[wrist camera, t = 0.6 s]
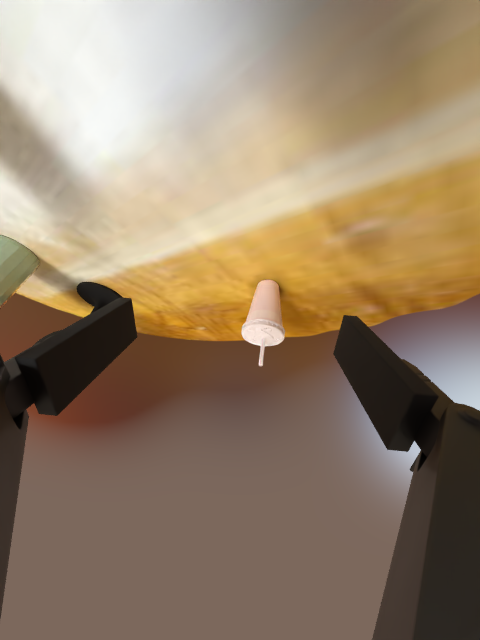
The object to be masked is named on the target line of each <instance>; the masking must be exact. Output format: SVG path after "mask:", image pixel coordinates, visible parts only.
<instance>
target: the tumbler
mask: <svg viewBox="0 0 480 640" xmlns="http://www.w3.org/2000/svg"><path fill="white" fill-rule="evenodd" d="M39 265H40V262H39V260H38V258H37V257H36V256H35V255H34V254H33V253H32V252H31V251H30V250H29V249H27V248H26V247H25V246H23V245H22V244H20V243H18V242H16V241H14V240H12V239H10V238H8V237H5V236H1V235H0V309H1V307H2V306H3V305H4V304H5V303H6V302H7V301H8V300H9V299H10V298H11V297H12V296H13V294H14V293H15V292H16V291H17V290H18V289H19V288H20V287H21V286H22V285H23V284H24V283H25V282H26V281H27V279H28V278H29V277H30V276H31V275H32V274H33V273H34V272H35V271H36V270H37V268H38V267H39Z"/></svg>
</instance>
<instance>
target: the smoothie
mask: <svg viewBox="0 0 480 640" xmlns="http://www.w3.org/2000/svg"><path fill="white" fill-rule="evenodd" d="M284 334H285V330H284V328H283V327H282V317H281V305H280V294H279V285H278V284H277V283H276V282H275V281H272V280H262V281H260V282H259V283H258V285H257V288H256V291H255V294H254V298H253V301H252V304H251V307H250V310H249V313H248V316H247V320H246V323H244V324H243V326H242V336H243V338H244V339H245V340H246V341H248V342H250V343H252V344H255V345H259V346H261V349H260V358H259V366H263V358H264V348H265V346H273V345H277V344H279V343H281V342H282V341H283V340H284Z"/></svg>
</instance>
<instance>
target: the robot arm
mask: <svg viewBox="0 0 480 640" xmlns="http://www.w3.org/2000/svg"><path fill="white" fill-rule="evenodd" d="M136 338H137V332H136V325H135V319H134V313H133V306H132V300H131V298H118V299H116V300H114V301H113V302H111V303H109V304H107V305H106V306H104V307H102V308H100V309H98V310H97V311H95V312H93V313H91V314H90V315H88V316H86V317H84V318H83V319H81V320H79V321H77V322H76V323H74V324H72V325H70V326H69V327H67V328H65V329H63V330H61V331H60V332H58V333H56V334H54V335H52V336H50V337H48V338H46V339H45V340H43V341H42V342H39V343H38V344H36V345H34V346H33V347H31V348H29V349H27V350H25V351H24V352H22V353H20V354H18V355H16V356H15V357H13V358H11V359H9V360H7V361H6V362H4V361H3V359H2V357H1V355H0V617H1V610H2V603H3V596H4V589H5V582H6V574H7V568H8V560H9V554H10V546H11V539H12V532H13V524H14V517H15V511H16V504H17V496H18V490H19V483H20V475H21V468H22V461H23V454H24V446H25V440H26V432H27V426H28V418H29V416H28V413H27V411H26V409H27V408H28V407H29V406H31V405H32V404H33V403H35V406H36V408H37V410H38V413H39V414H45V415H55V416H57V415H58V414H59V413H60V412H61V411H62V410H63V409H64V408H66V407H67V406H68V404H69V403H71V402H72V401H73V399H75V398H76V397H77V395H79V394H80V393H81V392H82V391H83V390H84V389H85V388H86V387H87V386H88V385H89V384H90V383H91V382H92V381H93V380H94V379H95V378H96V377H97V376H98V375H99V374H100V373H101V372H102V371H103V370H104V369H105V368H106V367H107V366H108V365H109V364H110V363H111V362H112V361H113V360H114V359H115V358H116V357H117V356H118V355H120V354H121V352H123V351H124V350H125V349H126V348H127V347H128V346H129V345H130V344H131V343H132V342H133V341H134V340H135V339H136ZM334 356H335V358H336V359H337V361H338V363H339V364H340V367H341V368H342V370H343V372H344V374H345V375H346V377H347V379H348V381H349V382H350V384H351V386H352V388H353V390H354V391H355V393H356V395H357V396H358V398H359V400H360V402H361V404H362V405H363V407H364V409H365V411H366V412H367V414H368V416H369V418H370V420H371V421H372V423H373V425H374V427H375V429H376V430H377V432H378V434H379V435H380V437H381V439H382V441H383V443H384V445H385V446H386V448H387V449H388V450H397V451H406V452H408V451H409V449H410V447H411V445H412V444H413V442H414V441H415V442H416V443H417V445H418V446H419V447H420V449H421V451H420V453H419V455H418V456H417V458H416V460H415V461H414V463H413V465H412V466H411V468H410V470H411V471H412V472H413V471H414V472H413V476H412V480H411V484H410V488H409V493H408V496H407V501H406V505H405V509H404V513H403V517H402V521H401V525H400V529H399V533H398V537H397V541H396V545H395V550H394V554H393V557H392V562H391V565H390V570H389V574H388V578H387V582H386V586H385V590H384V594H383V599H382V602H381V606H380V610H379V614H378V618H377V622H376V626H375V630H374V634H373V639H372V640H480V411H479V410H477V409H475V408H473V407H470V406H467V405H464V404H458V403H454V402H453V401H452V400H451V399H450V398H449V397H448V396H447V395H446V394H445V393H444V392H442V391H441V390H440V389H439V388H438V387H437V386H436V385H435V384H434V383H433V382H431V380H430V379H429V378H428V377H426V376H424V374H423V373H422V372H421V371H420V370H419V369H418V368H417V367H416V366H414V365H412V364H411V363H409V362H407V361H406V360H404V359H400V358H399V357H398V356H397V355H396V354H395V353H394V352H393V351H392V350H391V349H390V348H389V347H388V346H387V345H386V344H385V343H384V342H383V341H382V340H381V339H380V338H379V337H377V335H376V334H375V333H374V332H373V331H371V329H369V328H368V327H367V326H366V325H365V324H364V323H363V322H362V321H361V320H360V319H359V318H358V317H357V316H348V315H344V317H343V321H342V324H341V328H340V331H339V335H338V339H337V343H336V346H335V350H334Z"/></svg>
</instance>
